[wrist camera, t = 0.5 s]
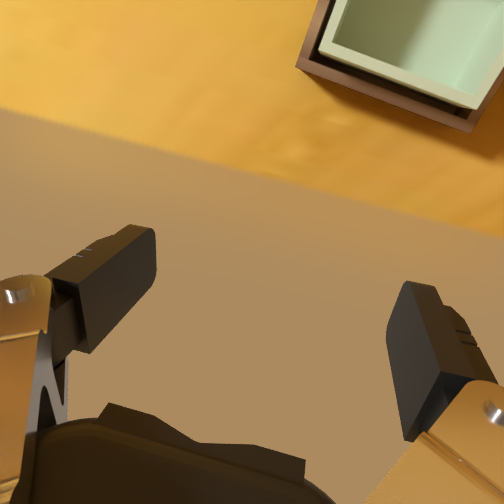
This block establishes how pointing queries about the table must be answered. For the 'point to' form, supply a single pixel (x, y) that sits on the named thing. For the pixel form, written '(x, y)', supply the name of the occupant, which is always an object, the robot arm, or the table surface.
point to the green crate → (421, 45)
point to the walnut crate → (380, 88)
